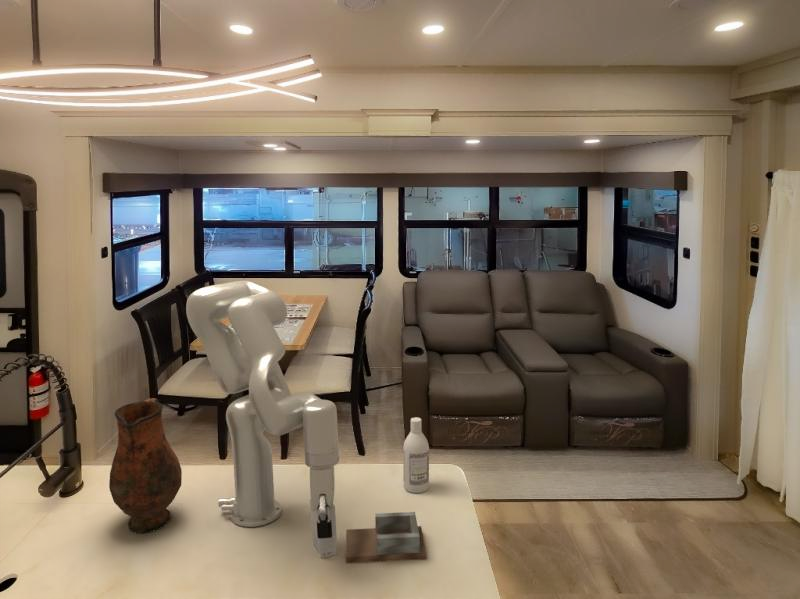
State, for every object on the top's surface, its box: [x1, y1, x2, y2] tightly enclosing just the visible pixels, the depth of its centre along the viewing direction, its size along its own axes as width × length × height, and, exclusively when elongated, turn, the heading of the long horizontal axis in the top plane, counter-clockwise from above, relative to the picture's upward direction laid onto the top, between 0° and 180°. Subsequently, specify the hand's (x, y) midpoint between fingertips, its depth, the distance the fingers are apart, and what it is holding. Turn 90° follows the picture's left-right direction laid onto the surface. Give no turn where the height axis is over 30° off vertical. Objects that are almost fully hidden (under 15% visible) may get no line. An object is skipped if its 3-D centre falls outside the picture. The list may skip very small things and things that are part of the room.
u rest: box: [345, 511, 427, 564], centre depth 148 cm, size 18×11×6 cm, turn 94°
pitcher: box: [108, 397, 183, 534], centre depth 159 cm, size 17×21×30 cm
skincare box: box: [309, 498, 339, 559], centre depth 147 cm, size 6×4×12 cm
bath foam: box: [402, 416, 430, 494], centre depth 174 cm, size 7×7×20 cm
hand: (325, 525), depth 146 cm, fingers open, 9 cm apart
